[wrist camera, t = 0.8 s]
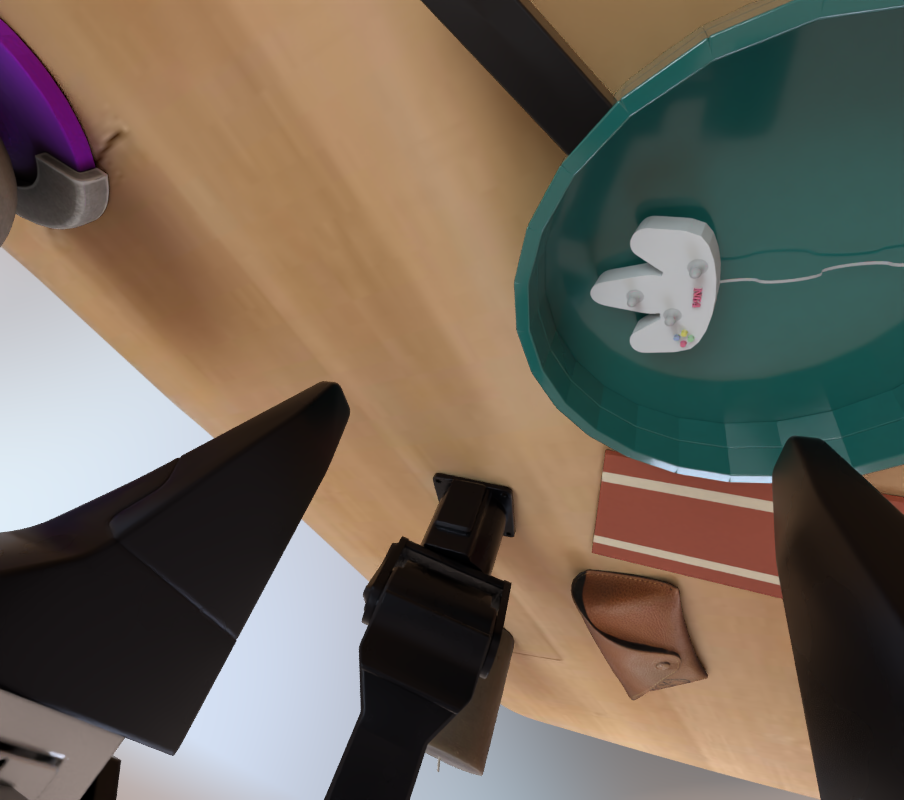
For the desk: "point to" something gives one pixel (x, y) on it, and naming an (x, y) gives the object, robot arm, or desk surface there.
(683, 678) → the sunglasses case
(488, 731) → the pillar candle
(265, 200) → the desk surface
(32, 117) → the webcam
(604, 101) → the pan handle
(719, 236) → the pan
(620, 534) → the cloth
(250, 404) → the desk surface
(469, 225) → the desk surface
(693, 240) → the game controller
